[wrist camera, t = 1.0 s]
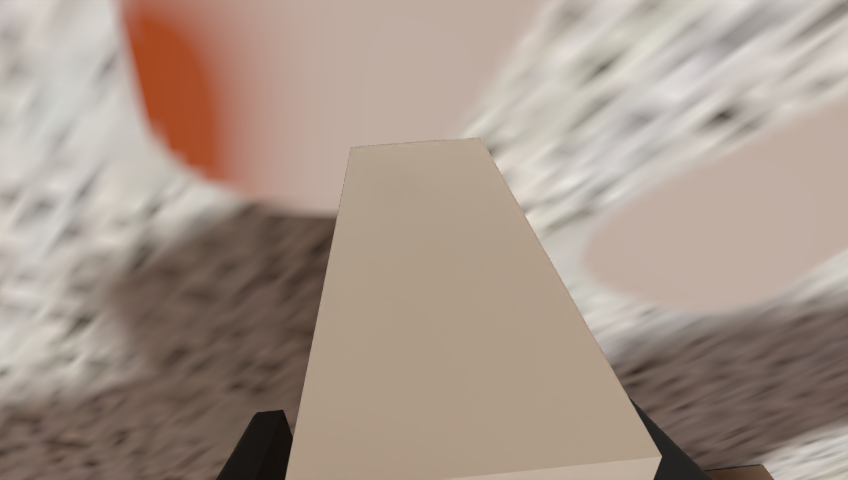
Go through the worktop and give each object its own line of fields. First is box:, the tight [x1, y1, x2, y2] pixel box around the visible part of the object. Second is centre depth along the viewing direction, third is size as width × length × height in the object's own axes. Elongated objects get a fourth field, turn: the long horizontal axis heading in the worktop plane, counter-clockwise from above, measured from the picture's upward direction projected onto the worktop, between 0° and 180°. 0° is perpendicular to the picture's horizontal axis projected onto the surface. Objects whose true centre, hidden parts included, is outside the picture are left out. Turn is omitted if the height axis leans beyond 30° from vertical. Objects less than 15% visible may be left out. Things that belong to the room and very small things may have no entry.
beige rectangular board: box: [285, 138, 662, 480], centre depth 10 cm, size 3×12×8 cm, turn 4°
